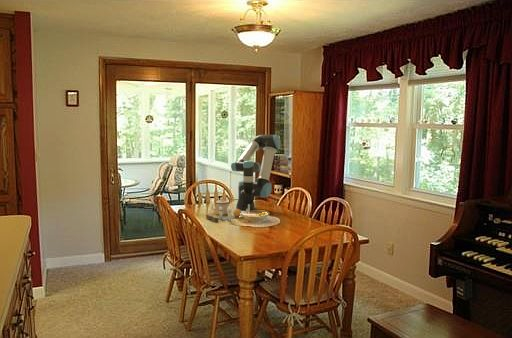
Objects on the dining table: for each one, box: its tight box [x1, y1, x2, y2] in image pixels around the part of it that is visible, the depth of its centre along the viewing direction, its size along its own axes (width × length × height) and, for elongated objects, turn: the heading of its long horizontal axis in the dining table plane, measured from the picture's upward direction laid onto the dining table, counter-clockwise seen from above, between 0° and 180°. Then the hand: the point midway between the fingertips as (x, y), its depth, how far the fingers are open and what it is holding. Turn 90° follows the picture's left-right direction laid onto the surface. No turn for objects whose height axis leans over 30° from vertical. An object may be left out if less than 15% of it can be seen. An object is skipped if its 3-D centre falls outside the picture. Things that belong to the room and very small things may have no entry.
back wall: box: [205, 213, 219, 223], centre depth 322 cm, size 14×2×3 cm, turn 35°
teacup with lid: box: [211, 198, 228, 216], centre depth 344 cm, size 12×9×12 cm
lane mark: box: [218, 215, 240, 221], centre depth 330 cm, size 18×8×1 cm, turn 125°
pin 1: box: [218, 207, 224, 220], centre depth 325 cm, size 2×2×8 cm
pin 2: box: [227, 208, 232, 222], centre depth 321 cm, size 2×2×8 cm
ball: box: [233, 209, 242, 217], centre depth 333 cm, size 6×6×6 cm
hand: (247, 212), depth 339 cm, fingers closed
